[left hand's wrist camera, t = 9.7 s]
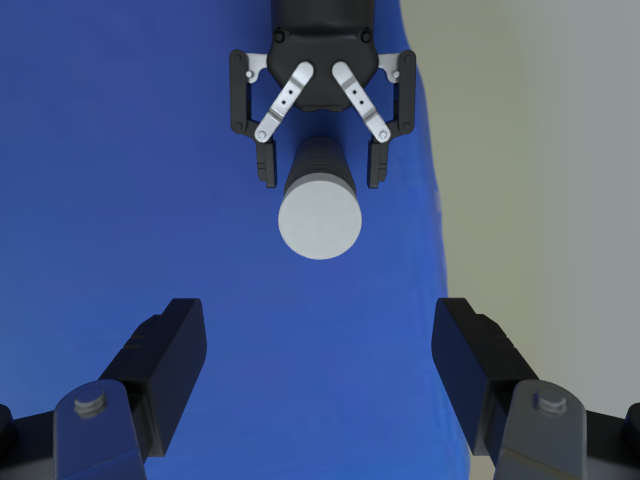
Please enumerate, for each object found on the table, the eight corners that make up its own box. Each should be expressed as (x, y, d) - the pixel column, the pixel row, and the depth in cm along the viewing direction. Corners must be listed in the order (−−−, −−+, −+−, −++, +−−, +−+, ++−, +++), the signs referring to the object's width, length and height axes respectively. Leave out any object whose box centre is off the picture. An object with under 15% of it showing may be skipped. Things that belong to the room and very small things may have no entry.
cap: (291, 163, 22) (289, 170, 20) (367, 183, 22) (372, 192, 20) (274, 235, 23) (270, 248, 22) (345, 253, 24) (348, 267, 22)
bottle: (302, 130, 37) (287, 164, 20) (350, 143, 38) (375, 188, 21) (290, 178, 39) (267, 248, 22) (336, 191, 39) (349, 268, 22)
